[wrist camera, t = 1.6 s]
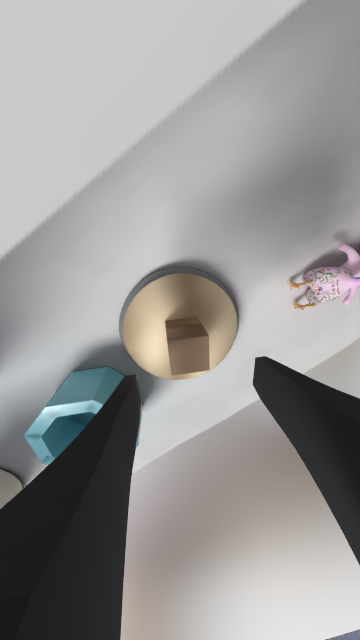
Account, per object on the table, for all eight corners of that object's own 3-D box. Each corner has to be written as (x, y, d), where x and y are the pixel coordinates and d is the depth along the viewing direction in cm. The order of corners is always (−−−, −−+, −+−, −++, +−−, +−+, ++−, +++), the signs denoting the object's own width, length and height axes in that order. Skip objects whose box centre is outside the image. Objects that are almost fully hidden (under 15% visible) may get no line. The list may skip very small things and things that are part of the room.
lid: (135, 381, 18) (128, 421, 14) (112, 279, 14) (91, 289, 10) (232, 367, 19) (254, 400, 15) (236, 267, 15) (268, 272, 11)
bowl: (73, 433, 20) (50, 479, 16) (45, 375, 17) (9, 412, 13) (146, 421, 21) (142, 461, 17) (133, 363, 18) (125, 395, 14)
